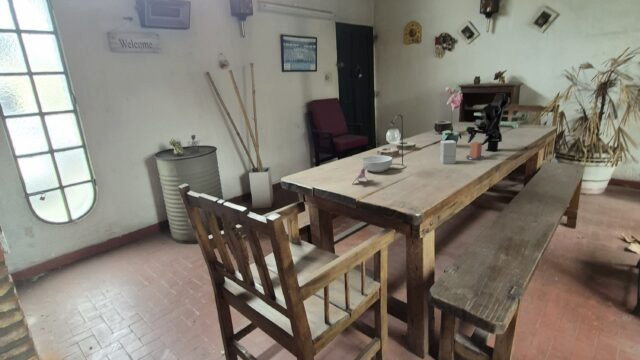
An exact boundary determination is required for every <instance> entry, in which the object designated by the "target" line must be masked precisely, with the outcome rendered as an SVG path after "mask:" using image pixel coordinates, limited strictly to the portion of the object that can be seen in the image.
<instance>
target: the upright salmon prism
mask: <svg viewBox="0 0 640 360" xmlns="http://www.w3.org/2000/svg"><path fill="white" fill-rule="evenodd" d="M469 147H470V149H469V155H470V157H474V158H478V157H481V156H482V151H483V149H482V148H483V145H482V142H478V141H473V142H470V146H469Z"/></svg>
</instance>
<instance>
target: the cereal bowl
mask: <svg viewBox="0 0 640 360" xmlns="http://www.w3.org/2000/svg"><path fill="white" fill-rule="evenodd" d="M361 163H362V166H363V167H364V166H365V168H366V167H367V166H368V167H367V168H366V170H367V171H370V172H371V171H373V172H372V173H382V171H383V172H385V171H386V170H389V168H390V167H391V166H392V165H393V164H392V163H393V157H391V156H388V155H383V154H382V155H381V154H380V155H369V156H364V158H362V159H361ZM384 170H385V171H384Z"/></svg>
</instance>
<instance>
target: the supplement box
mask: <svg viewBox="0 0 640 360" xmlns="http://www.w3.org/2000/svg"><path fill="white" fill-rule="evenodd" d="M439 148H440V149H439V150H440V151H439V162H440V163H441V164H442V165H451V164H456V160H457V142H456V141H455V140H453V139H452V140H451V139H450V140H440V146H439Z"/></svg>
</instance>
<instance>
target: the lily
mask: <svg viewBox="0 0 640 360" xmlns="http://www.w3.org/2000/svg"><path fill="white" fill-rule="evenodd" d="M367 167H368V166H367ZM367 167H366V168H367ZM366 168H365V166H363V167H362V169H361V170H360V172H358V174H359V175H358V176H356V178H355V180H354V181H353V182H352V184H354V183H355V182H356V181H359V179H364V178H365V179H366V181H367V182H368V183H370V181H369V179H368V178H367V177H366V170H367V169H366Z"/></svg>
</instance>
